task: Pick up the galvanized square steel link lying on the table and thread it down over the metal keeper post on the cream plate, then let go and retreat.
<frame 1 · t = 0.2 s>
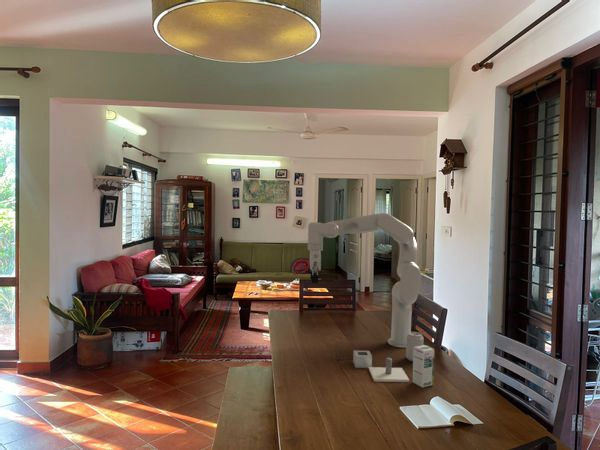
hand: (314, 281, 208), 31 cm above the table, fingers open, 9 cm apart
syrup box: (422, 384, 163), on the table
can: (414, 359, 189), on the table
link: (362, 364, 181), on the table
keeper: (388, 375, 170), on the table
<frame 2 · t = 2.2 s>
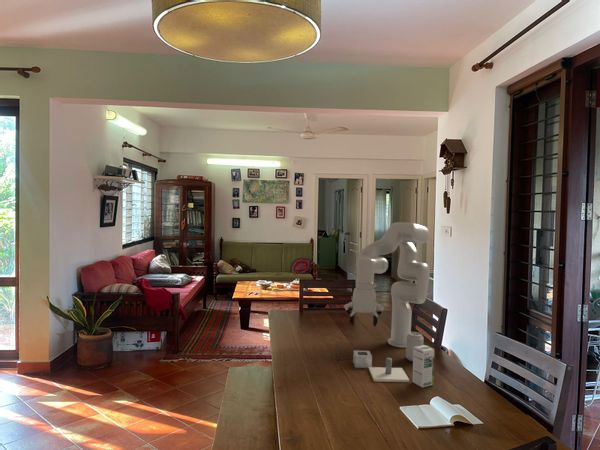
hand: (363, 325, 180), 18 cm above the table, fingers open, 9 cm apart
nothing on the table moved.
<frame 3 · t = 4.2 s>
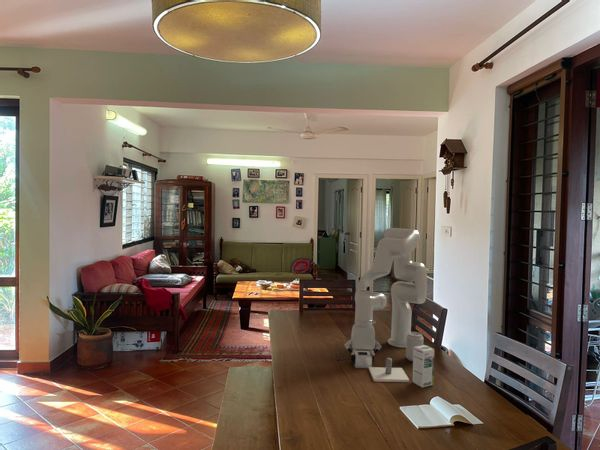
hand: (362, 362, 181), 1 cm above the table, fingers closed on link, 7 cm apart
link: (362, 364, 181), on the table, touching gripper
everything else where it was.
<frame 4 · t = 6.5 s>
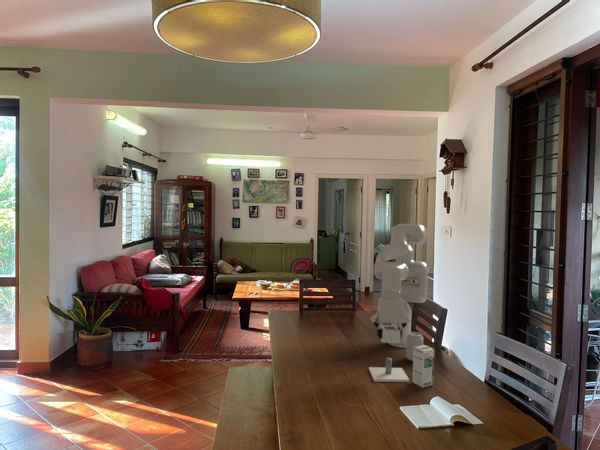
hand: (389, 338, 170), 16 cm above the table, fingers closed on link, 7 cm apart
link: (389, 340, 170), point 15 cm above the table, touching gripper
everything else where it was.
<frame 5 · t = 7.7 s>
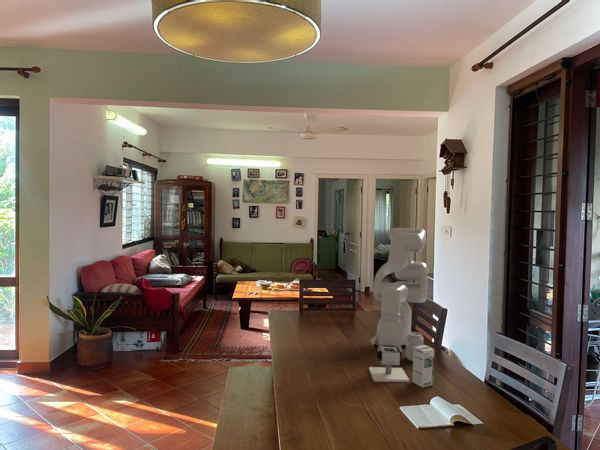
hand: (388, 359, 170), 7 cm above the table, fingers closed on link, 7 cm apart
link: (388, 361, 170), point 6 cm above the table, touching gripper
everything else where it was.
when the fingers open (4 cm above the table, at t = 8.7 s): link drops 2 cm, resting on keeper.
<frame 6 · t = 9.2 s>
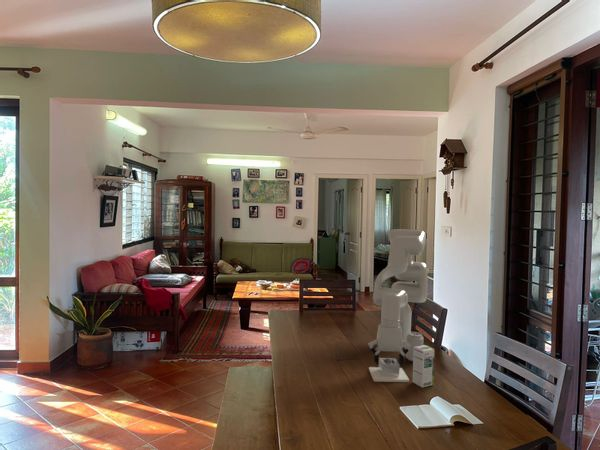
hand: (388, 364, 170), 5 cm above the table, fingers open, 9 cm apart
link: (388, 373, 170), point 1 cm above the table, touching keeper
everything else where it was.
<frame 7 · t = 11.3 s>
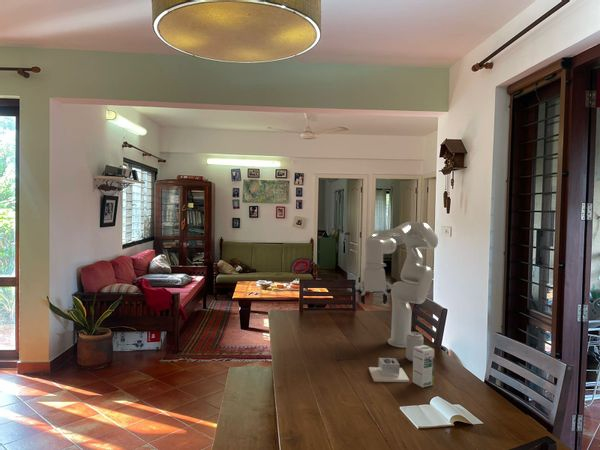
hand: (373, 303, 188), 25 cm above the table, fingers open, 9 cm apart
nothing on the table moved.
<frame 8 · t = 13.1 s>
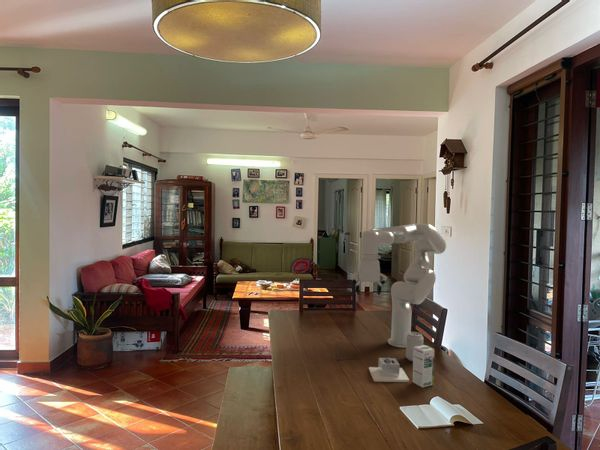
hand: (368, 293, 194), 28 cm above the table, fingers open, 9 cm apart
nothing on the table moved.
at the end: link 0.1 cm from the keeper (horizontally); link point 1.0 cm above the table; the gripper is holding nothing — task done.
